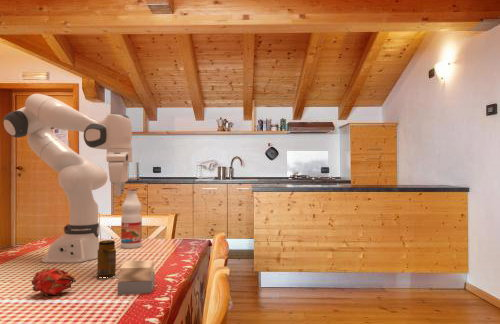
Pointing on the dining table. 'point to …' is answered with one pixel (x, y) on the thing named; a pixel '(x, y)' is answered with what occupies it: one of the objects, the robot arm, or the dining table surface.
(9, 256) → the dining table surface
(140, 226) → the fruit juice
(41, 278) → the dragon fruit
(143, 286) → the tower block lower
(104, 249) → the condiment
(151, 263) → the tower block upper
